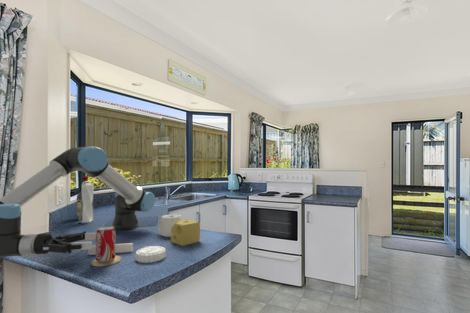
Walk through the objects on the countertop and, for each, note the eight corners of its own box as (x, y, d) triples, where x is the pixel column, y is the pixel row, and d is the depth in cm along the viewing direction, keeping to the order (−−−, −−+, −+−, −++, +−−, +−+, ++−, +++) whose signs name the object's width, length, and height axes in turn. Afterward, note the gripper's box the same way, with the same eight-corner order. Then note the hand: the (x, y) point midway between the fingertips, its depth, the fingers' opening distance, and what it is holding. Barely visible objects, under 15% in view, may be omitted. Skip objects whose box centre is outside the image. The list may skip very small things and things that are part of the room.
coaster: (116, 254, 116) (116, 253, 116) (125, 261, 108) (125, 260, 108) (88, 261, 109) (88, 260, 109) (95, 268, 101) (95, 267, 101)
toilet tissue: (182, 235, 144) (182, 217, 145) (159, 238, 141) (159, 218, 141) (180, 231, 155) (180, 213, 155) (158, 233, 151) (158, 215, 151)
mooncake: (153, 251, 121) (153, 243, 121) (171, 256, 114) (171, 247, 114) (129, 259, 111) (129, 250, 111) (147, 265, 104) (147, 256, 104)
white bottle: (82, 221, 185) (82, 180, 186) (95, 220, 187) (95, 180, 187) (78, 224, 177) (78, 181, 177) (91, 223, 178) (91, 181, 179)
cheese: (170, 242, 133) (170, 222, 134) (188, 237, 141) (188, 218, 141) (182, 246, 126) (182, 225, 126) (200, 241, 134) (200, 221, 134)
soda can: (91, 263, 105) (91, 229, 105) (103, 256, 112) (103, 225, 113) (108, 264, 104) (108, 230, 104) (119, 257, 111) (119, 226, 111)
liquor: (85, 216, 200) (85, 176, 201) (95, 217, 197) (95, 176, 198) (74, 219, 192) (74, 177, 192) (84, 220, 189) (84, 177, 189)
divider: (133, 250, 121) (132, 242, 121) (132, 251, 120) (132, 243, 120) (89, 254, 117) (89, 245, 117) (88, 254, 116) (88, 246, 116)
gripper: (52, 244, 115) (105, 240, 120) (18, 266, 91) (86, 260, 95) (52, 226, 116) (105, 223, 120) (18, 243, 91) (86, 239, 95)
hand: (97, 240), depth 108 cm, fingers open, 13 cm apart
